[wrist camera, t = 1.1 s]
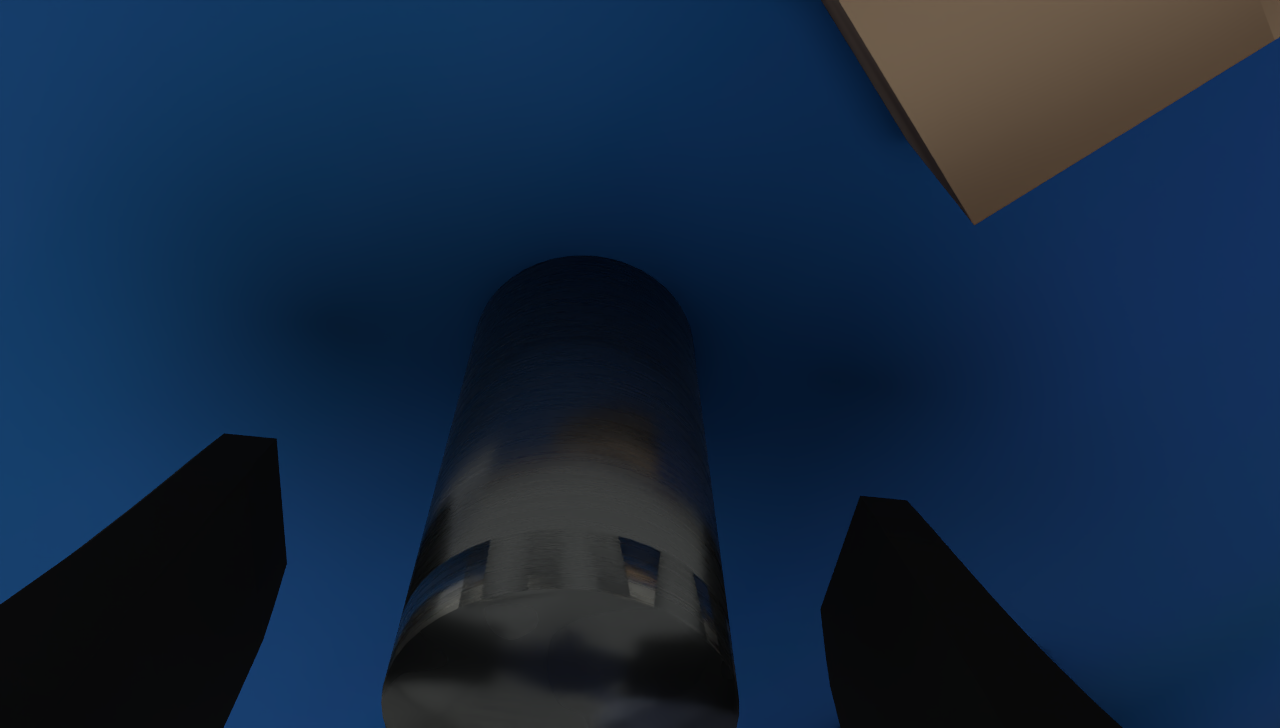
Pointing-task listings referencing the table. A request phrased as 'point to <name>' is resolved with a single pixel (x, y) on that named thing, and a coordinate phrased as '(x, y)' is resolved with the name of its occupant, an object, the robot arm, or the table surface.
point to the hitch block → (1037, 77)
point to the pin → (571, 523)
